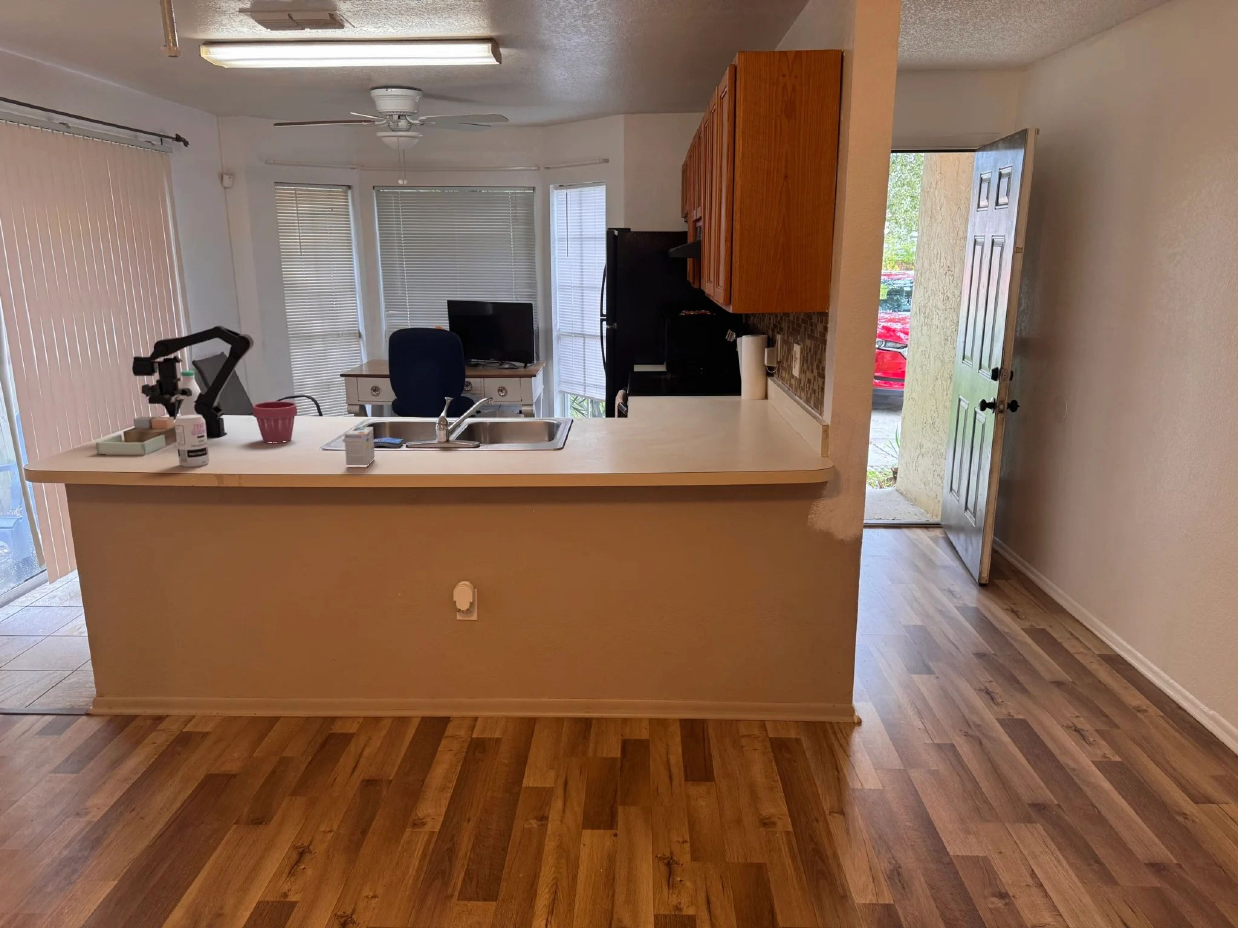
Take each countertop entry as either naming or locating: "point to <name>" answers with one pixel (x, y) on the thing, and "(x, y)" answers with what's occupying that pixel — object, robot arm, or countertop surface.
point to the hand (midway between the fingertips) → (173, 420)
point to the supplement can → (191, 440)
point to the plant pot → (275, 420)
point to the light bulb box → (359, 446)
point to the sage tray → (129, 446)
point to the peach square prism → (162, 422)
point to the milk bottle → (190, 383)
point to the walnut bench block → (149, 434)
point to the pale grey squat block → (143, 422)
